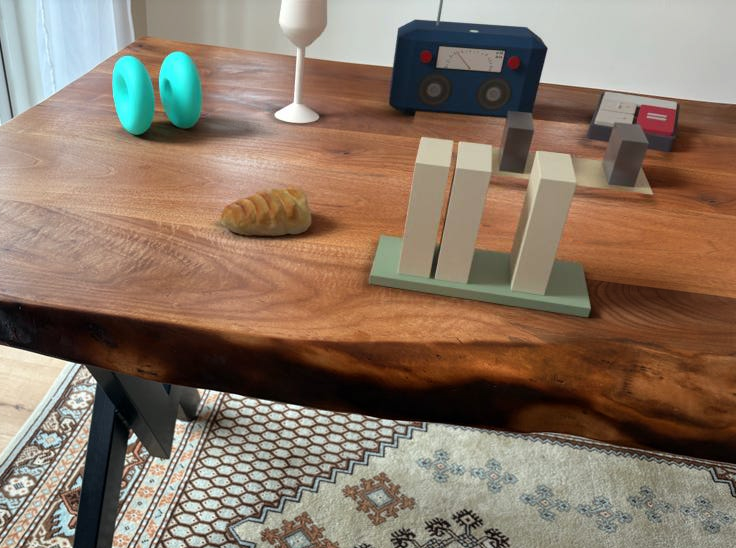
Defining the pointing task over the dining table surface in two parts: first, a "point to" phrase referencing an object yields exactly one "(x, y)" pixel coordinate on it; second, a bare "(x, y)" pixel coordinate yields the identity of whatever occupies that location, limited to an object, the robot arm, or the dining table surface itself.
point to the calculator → (636, 118)
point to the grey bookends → (610, 173)
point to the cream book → (541, 221)
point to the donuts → (175, 92)
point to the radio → (465, 68)
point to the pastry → (269, 213)
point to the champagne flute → (301, 48)
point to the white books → (463, 239)
